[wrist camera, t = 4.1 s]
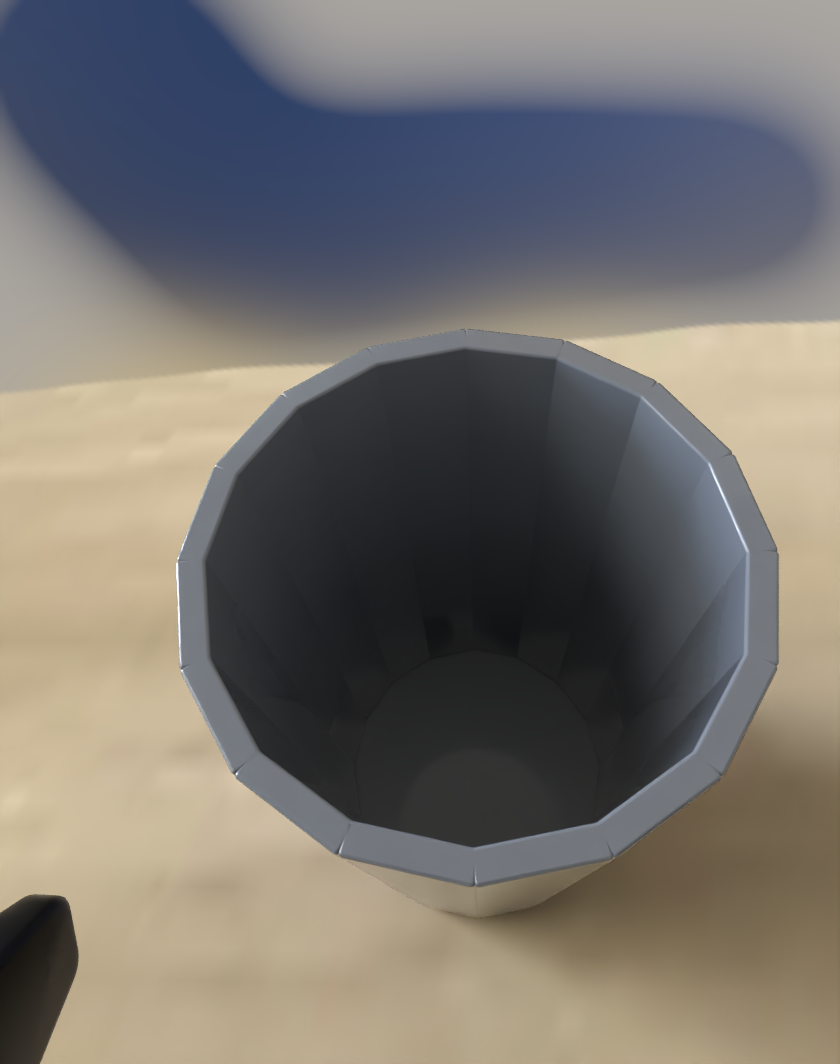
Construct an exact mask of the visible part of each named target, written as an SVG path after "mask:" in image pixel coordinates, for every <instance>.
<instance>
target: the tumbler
mask: <svg viewBox="0 0 840 1064" xmlns="http://www.w3.org/2000/svg"><path fill="white" fill-rule="evenodd" d="M177 561H178V562H177V564H176V573H177V605H178V636H179V667H180V669H181V674H182V676H183V678H184V680H185V682H186V684H187V686H188V688H189V690H190V692H191V694H192V696H193V698H194V700H195V702H196V704H197V706H198V708H199V710H200V712H201V714H202V716H203V718H204V720H205V722H206V724H207V726H208V728H209V730H210V732H211V733H212V735H213V737H214V739H215V741H216V743H217V745H218V747H219V749H220V751H221V753H222V755H223V757H224V759H225V761H226V763H227V765H228V767H229V769H230V771H231V773H232V774H234V775H235V777H236V779H237V780H239V781H240V782H241V783H242V784H244V785H245V786H246V787H248V788H249V789H250V790H251V791H253V792H254V793H255V794H257V795H258V796H259V797H260V798H262V799H263V800H264V801H266V802H267V803H268V804H269V805H271V806H272V807H273V808H275V809H276V810H277V811H278V812H280V813H281V814H282V815H284V816H285V817H286V818H287V819H289V820H290V821H291V822H293V823H294V824H295V825H297V826H298V827H299V828H300V829H302V830H303V831H304V832H306V833H307V834H308V835H309V836H311V837H312V838H313V839H315V840H316V841H317V842H318V843H320V844H321V845H322V846H324V847H325V848H326V849H327V850H329V851H330V852H331V853H333V854H334V855H336V856H338V857H339V858H341V859H343V860H345V861H346V862H348V863H350V864H351V865H353V866H355V867H357V868H358V869H360V870H362V871H364V872H365V873H367V874H369V875H371V876H372V877H374V878H376V879H378V880H379V881H381V882H383V883H384V884H386V885H388V886H390V887H391V888H393V889H395V890H397V891H398V892H400V893H402V894H404V895H405V896H407V897H409V898H411V899H412V900H414V901H416V902H417V903H419V904H422V905H423V906H427V907H432V908H436V909H440V910H444V911H447V912H451V913H457V914H461V915H465V916H470V917H474V918H483V917H488V916H493V915H498V914H504V913H509V912H512V911H517V910H522V909H527V908H531V907H534V906H537V905H538V904H540V903H542V902H543V901H545V900H547V899H548V898H550V897H552V896H553V895H555V894H557V893H559V892H560V891H562V890H564V889H565V888H567V887H569V886H570V885H572V884H574V883H575V882H577V881H579V880H580V879H582V878H584V877H586V876H587V875H589V874H591V873H592V872H594V871H596V870H597V869H599V868H601V867H602V866H604V865H606V864H608V863H609V862H611V861H613V860H614V859H616V858H618V857H619V856H621V855H622V854H623V853H624V852H626V851H627V850H628V849H630V848H631V847H632V846H634V845H635V844H636V843H638V842H639V841H640V840H642V839H643V838H644V837H646V836H647V835H648V834H650V833H651V832H652V831H654V830H655V829H656V828H658V827H659V826H660V825H662V824H663V823H664V822H666V821H667V820H668V819H670V818H671V817H672V816H673V815H675V814H676V813H677V812H679V811H680V810H681V809H683V808H684V807H685V806H687V805H688V804H689V803H691V802H692V801H693V800H695V799H696V798H697V797H699V796H700V795H701V794H703V793H704V792H705V791H707V790H708V789H709V788H711V787H712V786H713V785H715V784H716V783H717V782H719V781H720V779H721V777H722V776H723V775H725V773H726V771H727V769H728V767H729V765H730V763H731V761H732V759H733V757H734V755H735V753H736V751H737V749H738V747H739V745H740V743H741V741H742V739H743V737H744V735H745V733H746V731H747V729H748V727H749V725H750V723H751V721H752V719H753V717H754V715H755V713H756V711H757V709H758V707H759V705H760V703H761V701H762V699H763V697H764V695H765V693H766V691H767V689H768V687H769V685H770V683H771V681H772V679H773V677H774V675H775V673H776V671H777V665H778V663H779V555H778V553H777V547H776V545H775V542H774V540H773V538H772V536H771V534H770V532H769V529H768V527H767V525H766V523H765V521H764V518H763V516H762V514H761V512H760V510H759V508H758V505H757V503H756V501H755V499H754V497H753V495H752V492H751V490H750V488H749V486H748V484H747V481H746V479H745V477H744V475H743V473H742V471H741V468H740V466H739V464H738V462H737V460H736V457H735V456H734V455H732V452H731V450H730V449H729V448H728V447H726V446H725V445H724V444H723V443H722V442H721V441H720V440H719V439H718V438H717V437H716V436H715V435H714V434H713V433H712V432H711V431H710V430H709V429H707V428H706V427H705V426H704V425H703V424H702V423H701V422H700V421H699V420H698V419H697V418H696V417H695V416H694V415H693V414H692V413H691V412H690V411H689V410H687V409H686V408H685V407H684V406H683V405H682V404H681V403H680V402H679V401H678V400H677V399H676V398H675V397H674V396H673V395H672V394H671V393H670V392H668V391H667V390H666V389H665V388H664V387H663V386H662V385H661V384H660V383H657V382H656V381H655V380H654V379H651V378H649V377H647V376H645V375H642V374H640V373H638V372H636V371H633V370H631V369H629V368H627V367H625V366H622V365H620V364H618V363H616V362H613V361H611V360H609V359H607V358H604V357H602V356H600V355H598V354H596V353H593V352H591V351H589V350H587V349H584V348H582V347H580V346H578V345H575V344H573V343H571V342H569V341H565V342H564V340H562V339H553V338H544V337H535V336H527V335H518V334H509V333H500V332H491V331H483V330H473V329H467V330H466V331H465V330H464V329H461V330H456V331H450V332H445V333H440V334H434V335H429V336H423V337H418V338H413V339H407V340H402V341H397V342H392V343H387V344H381V345H376V346H371V347H370V348H366V349H363V350H362V351H360V352H358V353H356V354H354V355H352V356H350V357H349V358H347V359H345V360H343V361H341V362H339V363H337V364H335V365H334V366H332V367H330V368H328V369H326V370H324V371H322V372H321V373H319V374H317V375H315V376H313V377H311V378H309V379H308V380H306V381H304V382H302V383H300V384H298V385H296V386H294V387H293V388H291V389H289V390H287V391H285V392H284V393H283V395H280V396H279V397H278V398H277V399H276V400H275V401H274V402H273V403H272V404H271V405H270V406H269V407H268V409H267V410H266V411H265V412H264V413H263V414H262V415H261V416H260V417H259V418H258V419H257V420H256V422H255V423H254V424H253V425H252V426H251V427H250V428H249V429H248V430H247V431H246V432H245V433H244V434H243V436H242V437H241V438H240V439H239V440H238V441H237V442H236V443H235V444H234V445H233V446H232V447H231V448H230V450H229V451H228V452H227V453H226V454H225V455H224V456H223V457H222V458H221V459H220V460H219V461H218V463H217V464H216V465H215V468H213V470H212V473H211V475H210V478H209V480H208V483H207V485H206V488H205V490H204V493H203V495H202V498H201V500H200V503H199V505H198V508H197V510H196V513H195V515H194V518H193V520H192V523H191V526H190V528H189V531H188V533H187V536H186V538H185V541H184V543H183V546H182V548H181V551H180V553H179V556H178V559H177Z"/></svg>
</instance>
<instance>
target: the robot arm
mask: <svg viewBox="0 0 840 1064" xmlns="http://www.w3.org/2000/svg"><path fill="white" fill-rule="evenodd" d="M77 966H78V947H77V942H76V936H75V931H74V926H73V920H72V915H71V910H70V906H69V903H68V901H67V900H66V899H65V898H64V897H62V896H57V895H36V894H34V895H29V896H26V897H24V898H23V899H21V900H19V901H18V902H16V903H15V904H13V905H12V906H10V907H9V908H7V909H6V910H4V911H3V912H1V913H0V1064H40V1062H41V1060H42V1057H43V1055H44V1052H45V1050H46V1047H47V1045H48V1042H49V1040H50V1037H51V1035H52V1032H53V1030H54V1027H55V1025H56V1023H57V1020H58V1018H59V1015H60V1013H61V1010H62V1008H63V1005H64V1003H65V1000H66V998H67V995H68V993H69V990H70V988H71V985H72V983H73V980H74V977H75V975H76V971H77Z"/></svg>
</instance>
